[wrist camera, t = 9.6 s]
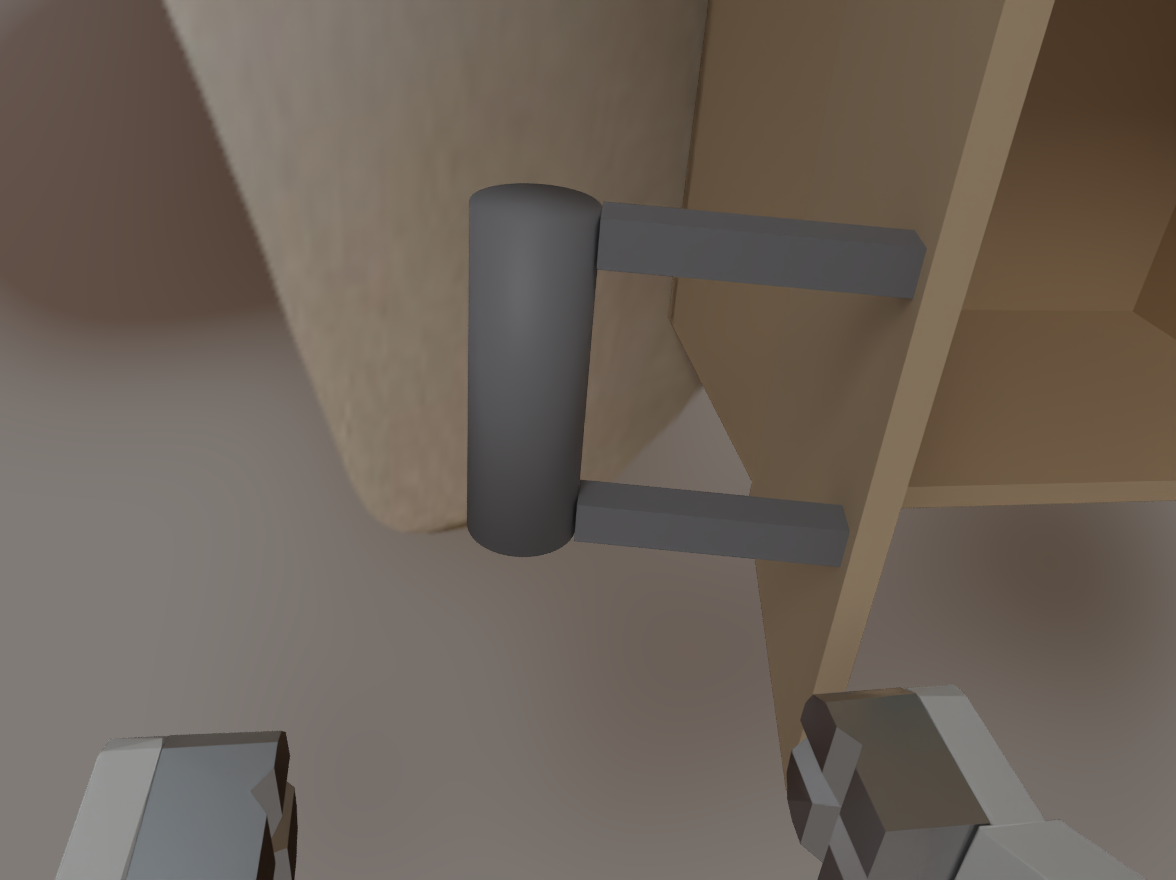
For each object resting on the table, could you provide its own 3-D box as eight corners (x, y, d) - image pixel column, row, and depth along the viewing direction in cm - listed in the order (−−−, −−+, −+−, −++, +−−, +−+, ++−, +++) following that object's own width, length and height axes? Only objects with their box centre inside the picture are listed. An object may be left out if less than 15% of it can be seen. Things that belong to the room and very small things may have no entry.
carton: (732, -188, 31) (919, -203, 19) (1315, -133, 35) (1769, -117, 23) (668, 317, 41) (767, 512, 29) (1130, 319, 44) (1386, 494, 32)
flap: (912, -181, 19) (550, -212, 19) (1126, -213, 10) (459, -269, 11) (767, 506, 28) (520, 482, 28) (816, 801, 20) (457, 765, 20)
